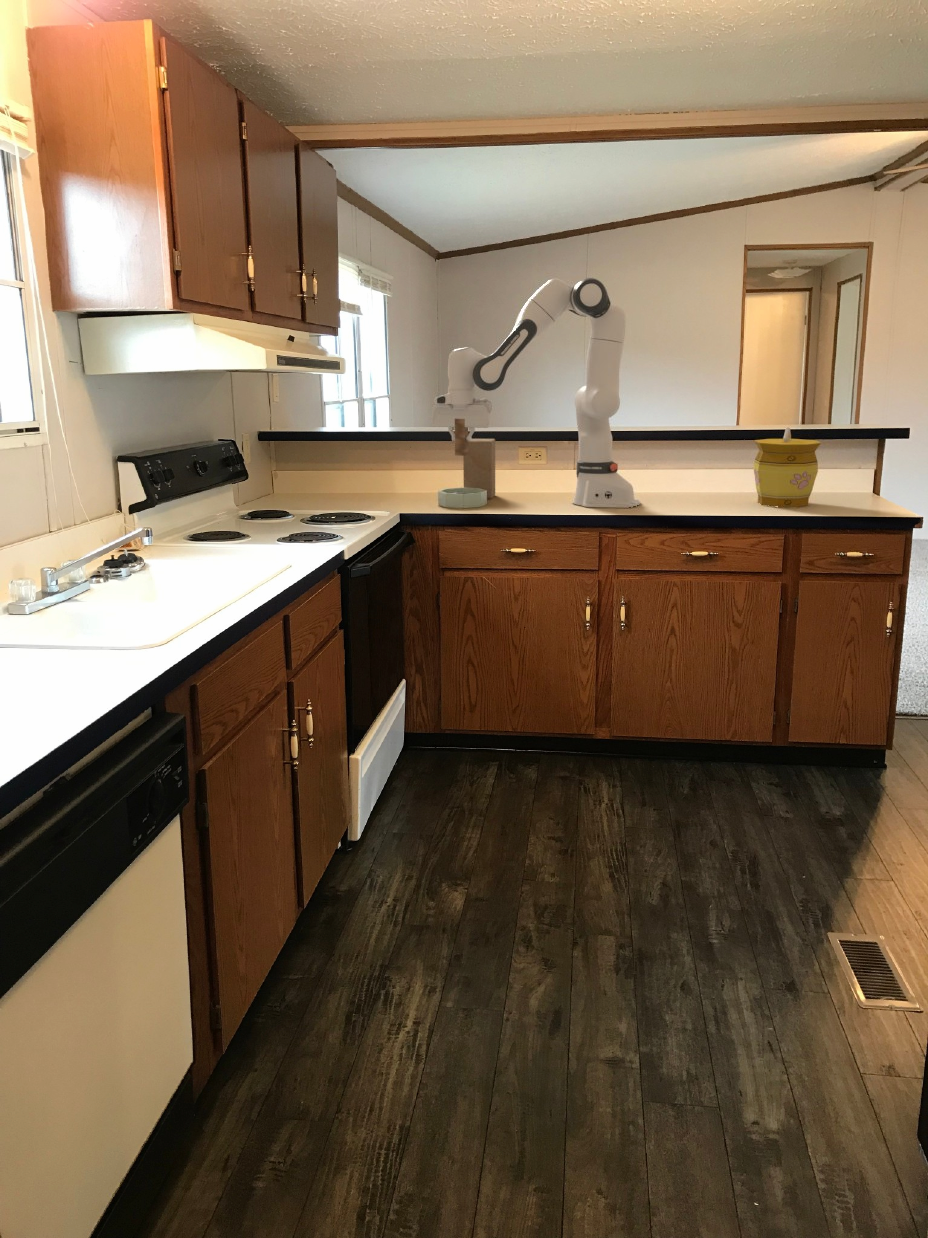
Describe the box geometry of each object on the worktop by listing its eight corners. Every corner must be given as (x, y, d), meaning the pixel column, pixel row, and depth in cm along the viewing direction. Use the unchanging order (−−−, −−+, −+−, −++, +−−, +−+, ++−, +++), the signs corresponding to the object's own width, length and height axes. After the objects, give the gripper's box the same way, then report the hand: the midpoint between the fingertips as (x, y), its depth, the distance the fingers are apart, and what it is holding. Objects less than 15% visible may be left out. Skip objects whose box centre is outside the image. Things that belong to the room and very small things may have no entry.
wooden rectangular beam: (468, 454, 331) (468, 418, 328) (464, 455, 328) (464, 418, 324) (458, 454, 332) (458, 417, 329) (454, 455, 329) (454, 418, 326)
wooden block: (491, 499, 345) (491, 441, 340) (463, 498, 347) (462, 441, 341) (495, 495, 355) (495, 438, 349) (467, 494, 356) (467, 438, 351)
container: (743, 506, 324) (748, 428, 317) (756, 497, 342) (762, 424, 335) (810, 510, 314) (817, 430, 308) (820, 501, 332) (827, 425, 326)
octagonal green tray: (490, 501, 339) (490, 488, 337) (476, 508, 325) (476, 494, 324) (449, 500, 344) (449, 486, 342) (433, 506, 330) (433, 492, 329)
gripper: (494, 398, 324) (494, 441, 328) (436, 397, 331) (436, 439, 335) (488, 399, 319) (488, 442, 322) (429, 398, 325) (429, 441, 329)
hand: (461, 441), depth 329 cm, fingers closed on wooden rectangular beam, 3 cm apart
